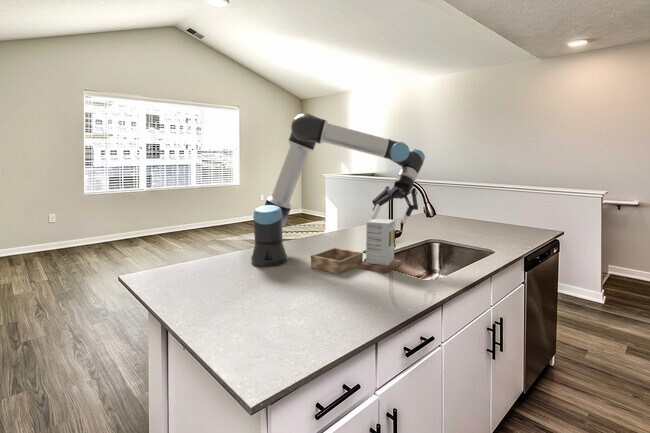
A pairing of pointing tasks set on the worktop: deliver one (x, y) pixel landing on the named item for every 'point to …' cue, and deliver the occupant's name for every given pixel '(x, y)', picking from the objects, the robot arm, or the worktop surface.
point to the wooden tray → (330, 257)
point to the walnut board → (381, 266)
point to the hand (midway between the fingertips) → (387, 220)
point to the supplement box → (380, 241)
